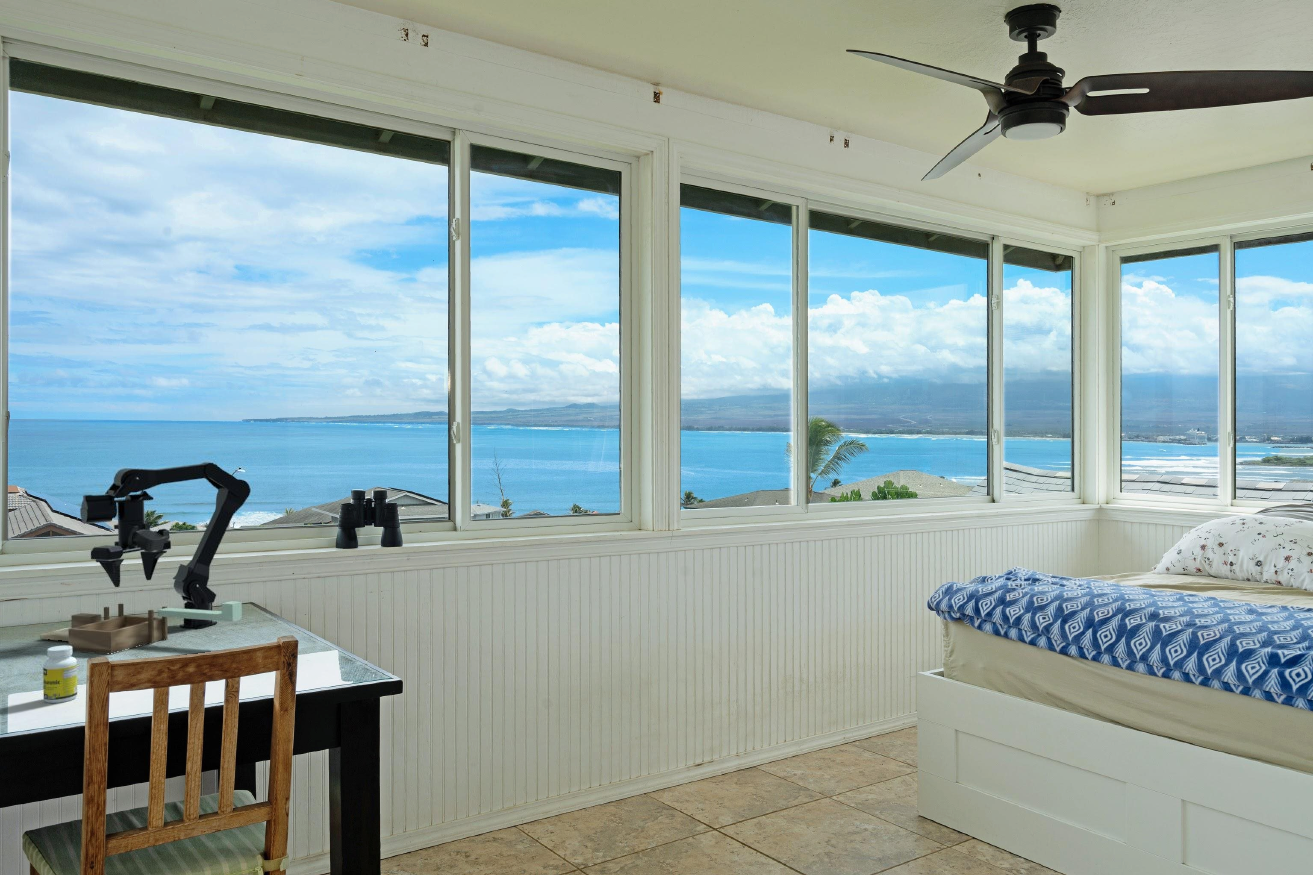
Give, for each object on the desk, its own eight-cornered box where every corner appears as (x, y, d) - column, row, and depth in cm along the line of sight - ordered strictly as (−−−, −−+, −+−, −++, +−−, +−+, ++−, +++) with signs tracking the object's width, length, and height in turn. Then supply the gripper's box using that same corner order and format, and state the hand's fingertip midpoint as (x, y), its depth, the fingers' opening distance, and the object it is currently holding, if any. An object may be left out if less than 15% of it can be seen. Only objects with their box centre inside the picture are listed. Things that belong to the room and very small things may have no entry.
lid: (95, 628, 240) (95, 607, 240) (131, 631, 237) (130, 610, 237) (39, 641, 225) (39, 619, 225) (77, 645, 222) (77, 622, 222)
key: (167, 613, 225) (167, 597, 225) (241, 618, 220) (241, 601, 219) (157, 616, 222) (157, 599, 222) (232, 621, 217) (232, 604, 217)
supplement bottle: (36, 701, 176) (36, 649, 176) (63, 693, 181) (63, 643, 181) (57, 704, 174) (56, 652, 174) (84, 696, 179) (83, 645, 179)
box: (122, 635, 231) (122, 603, 231) (169, 638, 227) (169, 606, 227) (65, 650, 215) (64, 616, 215) (114, 654, 212) (114, 619, 211)
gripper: (124, 525, 219) (126, 592, 219) (187, 516, 236) (189, 578, 237) (87, 524, 222) (90, 590, 223) (152, 515, 240) (154, 576, 240)
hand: (133, 583), depth 231 cm, fingers open, 9 cm apart
